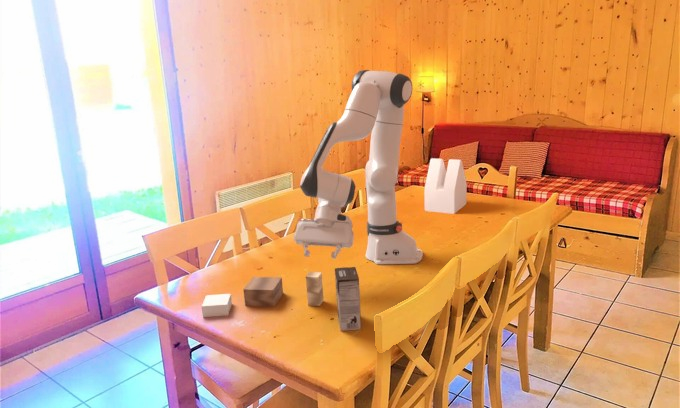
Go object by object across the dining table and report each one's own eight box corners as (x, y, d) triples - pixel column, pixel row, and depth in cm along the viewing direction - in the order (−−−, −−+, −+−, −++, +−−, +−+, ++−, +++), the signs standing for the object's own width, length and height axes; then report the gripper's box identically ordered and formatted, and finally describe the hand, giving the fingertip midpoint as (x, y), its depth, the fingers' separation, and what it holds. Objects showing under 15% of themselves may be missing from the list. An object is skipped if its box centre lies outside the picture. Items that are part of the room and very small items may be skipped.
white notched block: (454, 214, 255) (454, 163, 249) (424, 211, 263) (424, 162, 256) (466, 204, 271) (466, 156, 264) (438, 201, 279) (437, 155, 272)
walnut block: (283, 293, 178) (281, 277, 176) (274, 307, 169) (273, 290, 167) (255, 292, 180) (253, 276, 178) (245, 306, 170) (243, 289, 169)
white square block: (232, 304, 172) (230, 293, 171) (228, 315, 165) (227, 304, 163) (207, 306, 172) (206, 295, 171) (203, 317, 164) (201, 306, 163)
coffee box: (337, 316, 160) (334, 267, 155) (358, 314, 160) (355, 265, 156) (339, 331, 151) (336, 280, 147) (361, 329, 151) (359, 278, 147)
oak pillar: (323, 300, 171) (321, 272, 168) (319, 306, 167) (317, 277, 164) (311, 299, 172) (309, 271, 169) (308, 305, 168) (305, 276, 165)
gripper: (296, 214, 179) (287, 250, 173) (353, 217, 174) (347, 255, 168) (300, 222, 185) (292, 258, 178) (357, 225, 180) (351, 262, 173)
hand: (320, 256), depth 173 cm, fingers open, 8 cm apart
